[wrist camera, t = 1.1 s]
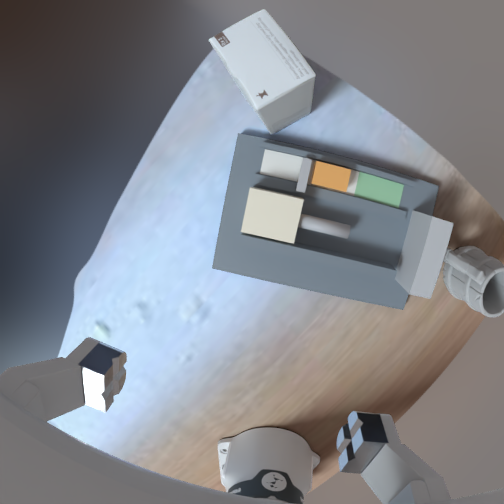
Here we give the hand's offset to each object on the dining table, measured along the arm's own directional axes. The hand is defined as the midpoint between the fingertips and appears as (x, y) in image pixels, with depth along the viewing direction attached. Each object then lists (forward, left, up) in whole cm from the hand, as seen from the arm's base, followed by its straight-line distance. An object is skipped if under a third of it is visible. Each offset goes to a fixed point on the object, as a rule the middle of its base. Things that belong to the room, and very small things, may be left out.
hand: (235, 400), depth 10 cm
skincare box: (+17, +4, -31) cm, 35 cm away
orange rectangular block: (+9, -5, -29) cm, 31 cm away
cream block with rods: (+5, -2, -29) cm, 30 cm away
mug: (+2, -26, -31) cm, 40 cm away
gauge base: (+3, -6, -31) cm, 32 cm away
